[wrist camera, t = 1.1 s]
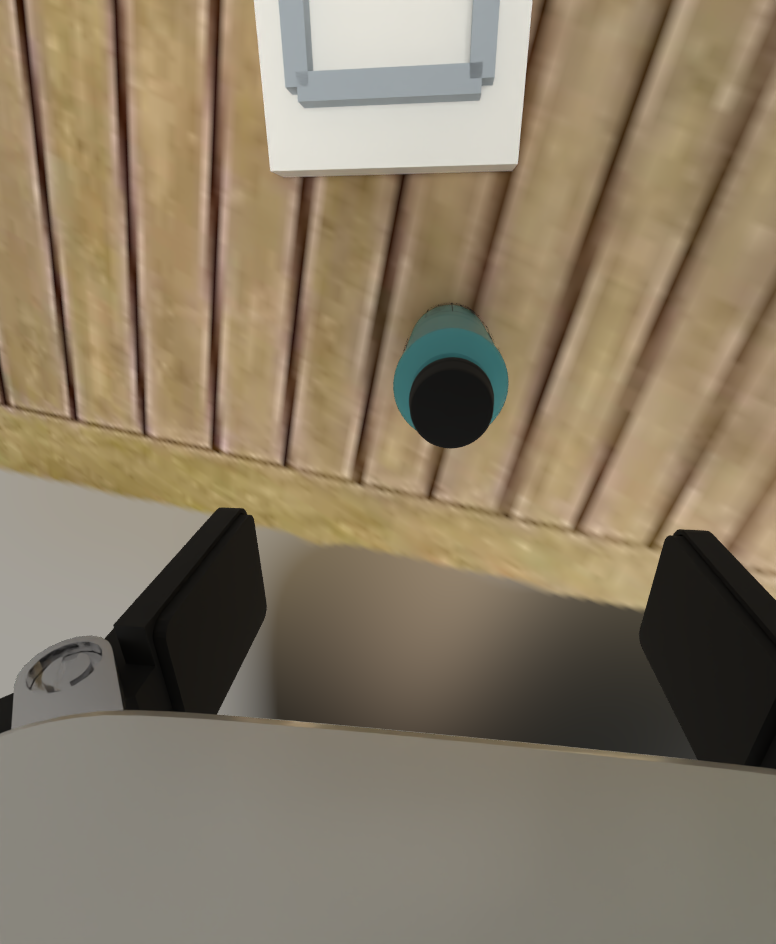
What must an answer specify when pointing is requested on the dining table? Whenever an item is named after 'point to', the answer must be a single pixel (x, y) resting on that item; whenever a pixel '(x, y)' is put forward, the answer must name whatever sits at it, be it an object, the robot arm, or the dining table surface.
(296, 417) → the dining table surface
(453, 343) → the beverage bottle
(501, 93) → the display stand
